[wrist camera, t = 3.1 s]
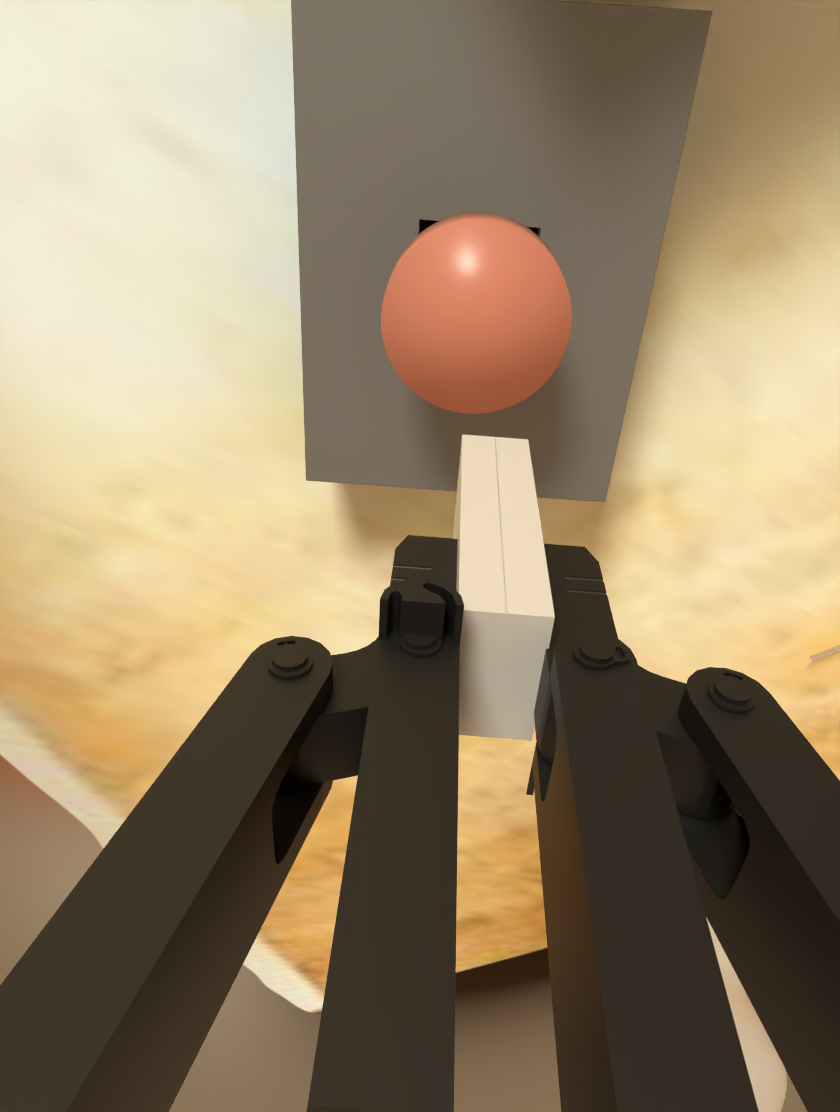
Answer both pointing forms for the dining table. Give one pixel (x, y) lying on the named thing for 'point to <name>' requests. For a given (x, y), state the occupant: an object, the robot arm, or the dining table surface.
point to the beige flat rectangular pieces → (825, 653)
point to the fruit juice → (753, 1040)
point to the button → (476, 313)
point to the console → (481, 209)
